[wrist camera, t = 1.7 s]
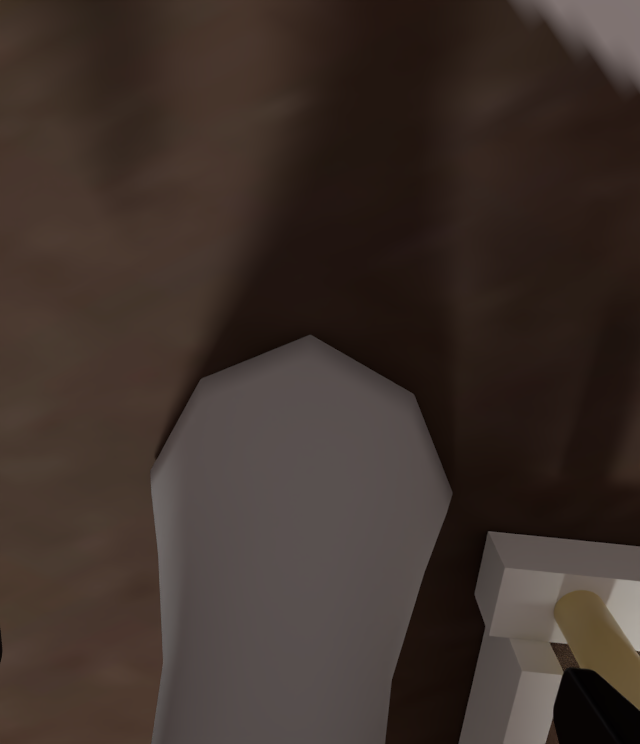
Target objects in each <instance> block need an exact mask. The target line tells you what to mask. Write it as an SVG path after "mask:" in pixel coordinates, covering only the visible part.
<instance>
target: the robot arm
mask: <svg viewBox="0 0 640 744" xmlns="http://www.w3.org/2000/svg"><path fill="white" fill-rule="evenodd" d="M1 658H2V641H1V630H0V662H1ZM553 719H554V725H555V729H556V733H557V737H558V741H559V744H640V710H639V709H638V708H636V707H635V706H634V705H633V704H632V703H631V702H630V701H629V700H627V699H626V698H625V697H624V696H623V695H622V694H621V693H619V692H618V691H617V690H616V689H615V688H614V687H613V686H612V685H610V684H609V683H608V682H607V681H606V680H605V679H604V678H603V677H601V676H600V675H599V674H598V673H597V672H595V671H593V670H591V669H584V668H574V667H569V668H567V669H566V670H565V671H564V672H563V675H562V678H561V682H560V685H559V689H558V692H557V696H556V699H555V703H554V707H553Z"/></svg>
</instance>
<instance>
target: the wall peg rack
mask: <svg viewBox="0 0 640 744" xmlns="http://www.w3.org/2000/svg"><path fill="white" fill-rule="evenodd" d="M474 595H475V598H476V601H477V603H478V606H479V609H480V612H481V615H482V618H483V621H484V623H485V626H486V627H485V631H484V635H483V640H482V644H481V648H480V653H479V657H478V661H477V666H476V670H475V674H474V679H473V683H472V687H471V692H470V696H469V700H468V705H467V709H466V713H465V718H464V722H463V726H462V731H461V735H460V739H459V744H545V743H546V739H547V736H548V733H549V729H550V726H551V722H552V719H553V707H554V703H555V699H556V696H557V692H558V689H559V685H560V682H561V678H562V675H563V670H562V668H561V665H560V663H559V661H558V659H557V657H556V655H555V653H554V651H553V649H552V647H551V645H550V643H549V642H555V643H564V644H568V645H569V647H570V649H571V651H572V653H573V655H574V657H575V659H576V661H577V663H578V664H579V666H580V668H584V669H591V670H593V671H595V672H597V673H598V674H599V675H600V676H601V677H603V678H604V679H605V680H606V681H607V682H608V683H609V684H610V685H612V686H613V687H614V688H615V689H616V690H617V691H618V692H619V693H621V694H622V695H623V696H624V697H625V698H626V699H627V700H629V701H630V702H631V703H632V704H633V705H634V706H635V707H636V708H638V709H639V710H640V656H639V655H638V653H637V652H636V651H640V546H630V545H620V544H610V543H600V542H590V541H580V540H571V539H561V538H551V537H541V536H531V535H521V534H511V533H501V532H491V531H488V534H487V539H486V543H485V548H484V552H483V557H482V561H481V566H480V571H479V575H478V580H477V584H476V589H475V593H474Z"/></svg>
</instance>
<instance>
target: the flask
mask: <svg viewBox="0 0 640 744" xmlns="http://www.w3.org/2000/svg"><path fill="white" fill-rule="evenodd" d="M150 474H151V493H152V502H153V511H154V520H155V529H156V538H157V547H158V559H159V580H160V602H161V623H162V645H163V668H162V675H161V682H160V689H159V696H158V702H157V709H156V716H155V723H154V730H153V737H152V743H151V744H385V739H386V729H387V720H388V711H389V701H390V692H391V682H392V678H393V674H394V671H395V668H396V664H397V661H398V658H399V654H400V651H401V648H402V645H403V641H404V638H405V635H406V631H407V628H408V625H409V622H410V618H411V615H412V612H413V608H414V605H415V602H416V599H417V595H418V592H419V589H420V585H421V582H422V579H423V576H424V572H425V570H426V567H427V564H428V562H429V559H430V556H431V554H432V551H433V548H434V546H435V543H436V540H437V538H438V535H439V532H440V530H441V527H442V524H443V522H444V519H445V516H446V514H447V510H448V507H449V504H450V501H451V497H452V494H453V492H452V490H451V487H450V485H449V482H448V480H447V477H446V475H445V472H444V469H443V467H442V464H441V462H440V459H439V457H438V454H437V452H436V449H435V446H434V444H433V441H432V439H431V436H430V434H429V431H428V429H427V426H426V424H425V421H424V418H423V416H422V413H421V411H420V408H419V406H418V403H417V401H416V398H415V395H414V394H413V393H411V392H409V391H408V390H406V389H404V388H402V387H401V386H399V385H397V384H395V383H394V382H392V381H390V380H388V379H387V378H385V377H383V376H382V375H380V374H378V373H376V372H375V371H373V370H371V369H369V368H368V367H366V366H364V365H362V364H361V363H359V362H357V361H355V360H354V359H352V358H350V357H349V356H347V355H345V354H343V353H342V352H340V351H338V350H336V349H335V348H333V347H331V346H329V345H328V344H326V343H324V342H322V341H321V340H319V339H317V338H316V337H314V336H312V335H308V336H306V337H303V338H301V339H298V340H296V341H293V342H291V343H288V344H286V345H283V346H281V347H278V348H276V349H273V350H271V351H268V352H266V353H264V354H261V355H259V356H256V357H254V358H251V359H249V360H246V361H244V362H241V363H239V364H236V365H234V366H231V367H229V368H226V369H224V370H221V371H219V372H217V373H214V374H212V375H209V376H207V377H204V378H202V379H200V381H199V383H198V385H197V386H196V388H195V390H194V392H193V394H192V396H191V397H190V399H189V401H188V403H187V405H186V407H185V408H184V410H183V412H182V414H181V416H180V418H179V419H178V421H177V423H176V425H175V427H174V429H173V430H172V432H171V434H170V436H169V438H168V440H167V441H166V443H165V445H164V447H163V449H162V451H161V452H160V454H159V456H158V458H157V460H156V462H155V463H154V465H153V467H152V469H151V471H150Z"/></svg>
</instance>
